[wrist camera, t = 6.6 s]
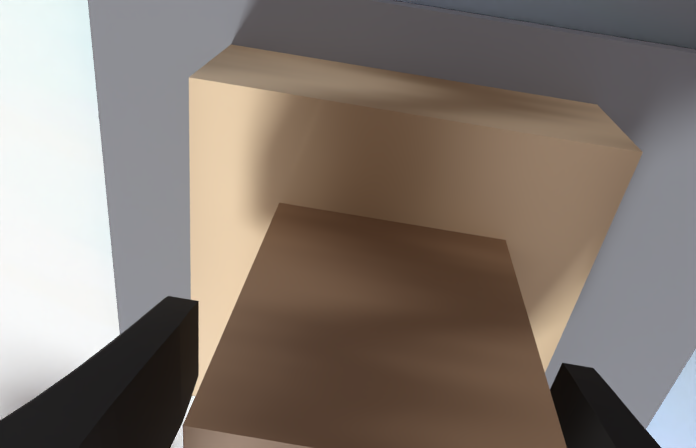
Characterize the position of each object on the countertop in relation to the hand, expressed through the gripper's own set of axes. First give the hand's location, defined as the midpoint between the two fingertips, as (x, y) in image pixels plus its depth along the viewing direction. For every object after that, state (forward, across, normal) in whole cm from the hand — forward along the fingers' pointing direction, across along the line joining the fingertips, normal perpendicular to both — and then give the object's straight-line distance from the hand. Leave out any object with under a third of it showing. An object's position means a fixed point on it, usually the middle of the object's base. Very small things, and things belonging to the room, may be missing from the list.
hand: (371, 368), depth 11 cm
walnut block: (+2, 0, 0) cm, 2 cm away
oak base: (+5, 0, 0) cm, 5 cm away
